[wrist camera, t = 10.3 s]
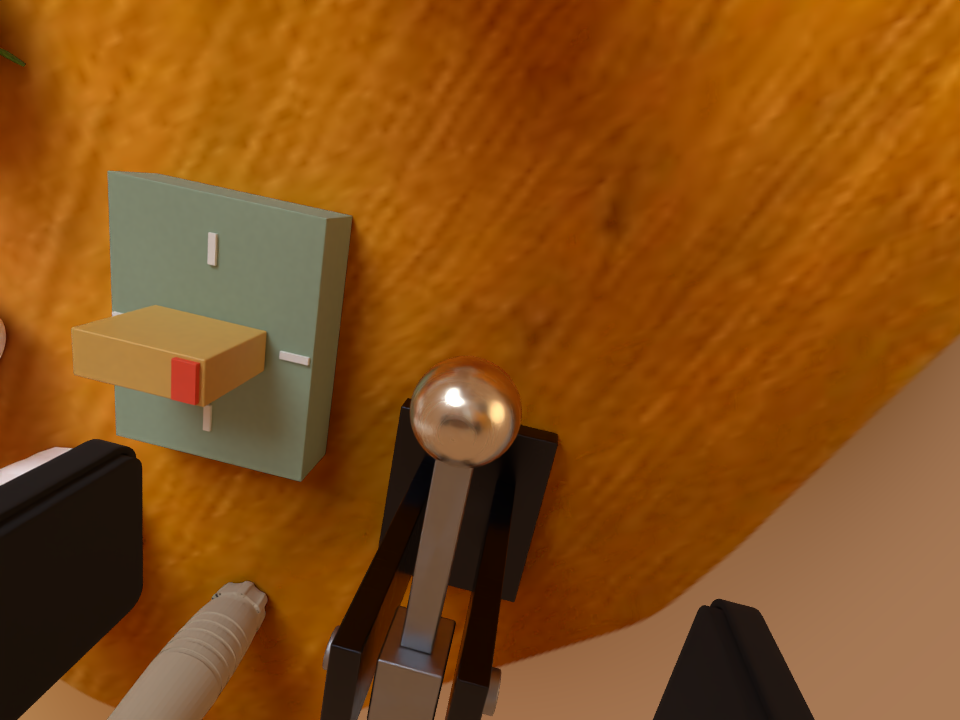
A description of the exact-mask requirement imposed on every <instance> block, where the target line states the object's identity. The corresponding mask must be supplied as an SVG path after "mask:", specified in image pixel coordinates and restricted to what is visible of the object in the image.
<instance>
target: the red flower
mask: <svg viewBox="0 0 960 720" xmlns="http://www.w3.org/2000/svg"><path fill="white" fill-rule="evenodd" d="M0 55H2V56H4V57H5V58H7V59H9V60H11V61H13V62H15V63H17V64H19V65H21V66H23V67H24V66H25V65H26V63H24V62H23V61H21V60H20V59H18V58H17V57H15V56H14V55H12V54H11V53H10V52H8V51H6V50H4V49H1V48H0Z"/></svg>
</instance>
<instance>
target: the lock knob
mask: <svg viewBox="0 0 960 720" xmlns="http://www.w3.org/2000/svg"><path fill="white" fill-rule="evenodd" d="M71 332H72V350H73V368H74V375H77V376H81V377H85V378H89V379H93V380H97V381H101V382H105V383H109V384H113V385H117V386H121V387H125V388H129V389H133V390H137V391H141V392H145V393H149V394H153V395H157V396H161V397H165V398H169V399H171V400H175V401H179V402H183V403H187V404H191V405H197V406H201V407H205V406H206V405H208V404H210V403H211V402H213V401H215V400H216V399H218V398H220V397H221V396H223V395H225V394H226V393H228V392H230V391H231V390H233V389H235V388H236V387H238V386H240V385H241V384H243V383H244V382H246V381H248V380H249V379H251V378H253V377H254V376H256V375H258V374H259V373H261V372H263V371H264V363H265V349H266V335H267V332H266V331H264V330H259V329H255V328H251V327H247V326H243V325H238V324H234V323H230V322H226V321H221V320H217V319H213V318H209V317H205V316H200V315H196V314H192V313H188V312H184V311H179V310H175V309H171V308H167V307H163V306H158V305H153V306H149V307H146V308H142V309H138V310H135V311H131V312H127V313H124V314H120V315H116V316H113V317H109V318H105V319H102V320H98V321H94V322H91V323H87V324H83V325H80V326H76V327H72V329H71Z"/></svg>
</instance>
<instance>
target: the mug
mask: <svg viewBox="0 0 960 720" xmlns="http://www.w3.org/2000/svg"><path fill="white" fill-rule="evenodd" d="M5 343H6V330H5V326H4V323H3V321H2V320H1V318H0V358H1V356H2V354H3V351H4V348H5Z"/></svg>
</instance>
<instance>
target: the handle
mask: <svg viewBox="0 0 960 720" xmlns="http://www.w3.org/2000/svg"><path fill="white" fill-rule="evenodd" d="M267 601H268V599H267V596H266V594H265V593H263V592H261V591H260V590H258V589H257V588H256V587H255V585H254V583H252V582H250V581H245V582H244V583H232V582H231V583H227V584H226V585H224V586H223V587H222V588H221V589H220V590H219V591H218V592H217V593H215V594H214V595H213V597H212V600H211V601H209V602H208V603H207V604H206V605H205V606H204V607H202V608H201V609H200V610H199V611H198V612H197V613H196V614H195V615H194V616H193V617H192V618H191V619H190V620H189V621H188V622H187V623H186V624H185V625H184V626H183V627H182V628H181V629H180V630H179V631H178V632H177V634H176V635H175V636H174V637H173V638H172V639H171V640H170V641H169V642H168V644H167V645H166V646H165V647H164V648H163V649H162V650H161V652H160V653H159V654H158V655H157V656H156V657H155V658H154V659H153V661H152V662H151V663H150V664H149V666H148V667H147V668H146V670H145V671H144V672H143V673H142V675H141V676H140V677H139V679H138V680H137V681H136V682H135V684H134V685H133V686H132V688H131V689H130V690H129V692H128V693H127V694H126V695H125V697H124V698H123V699H122V701H121V702H120V703H119V704H118V706H117V707H116V708H115V710H114V711H113V712H112V714H111V715H110V716H109V717H108V719H107V720H202V718H203V717H204V716H205V714H206V713H207V712H208V710H209V709H210V708H211V706H212V705H213V704H214V702H215V701H216V699H217V698H218V696H219V695H220V693H221V692H222V690H223V689H224V687H225V686H226V684H227V683H228V681H229V679H230V678H231V676H232V675H233V673H234V672H235V670H236V668H237V667H238V665H239V663H240V662H241V660H242V658H243V656H244V655H245V653H246V651H247V649H248V648H249V646H250V644H251V642H252V640H253V637H254V635H255V633H256V632H257V631H258V629H259V628H260V626H261V624H262V622H263V620H264V618H265V615H266V611H265V609H264V607H265V605H266V603H267Z"/></svg>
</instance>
